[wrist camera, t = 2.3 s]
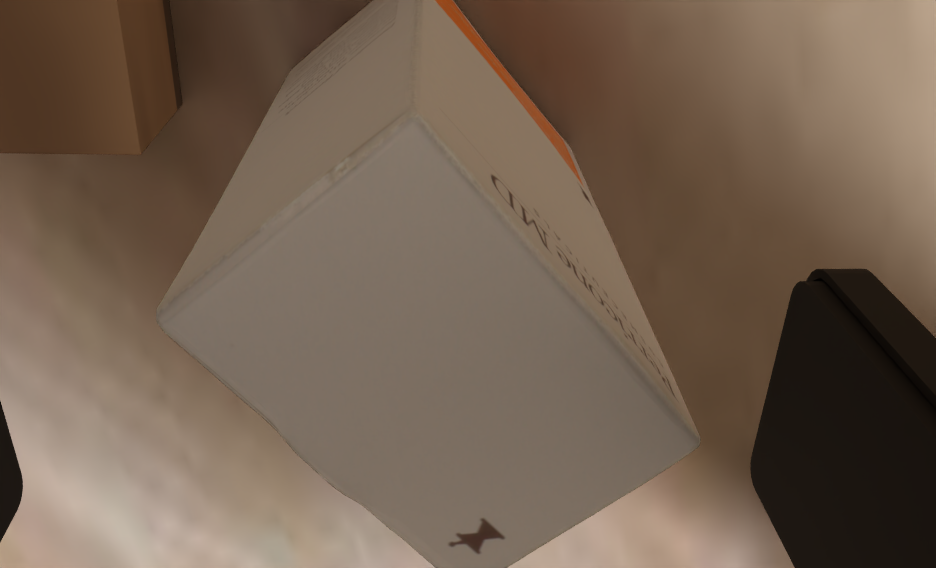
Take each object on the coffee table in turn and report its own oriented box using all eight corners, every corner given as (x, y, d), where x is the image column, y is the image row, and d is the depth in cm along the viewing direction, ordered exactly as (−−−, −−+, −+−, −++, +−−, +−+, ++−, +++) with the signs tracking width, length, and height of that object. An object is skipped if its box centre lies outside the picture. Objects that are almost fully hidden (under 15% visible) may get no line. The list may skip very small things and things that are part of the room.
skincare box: (576, 146, 22) (720, 456, 11) (444, 244, 23) (463, 610, 12) (419, -56, 19) (417, 101, 9) (281, 65, 21) (132, 333, 10)
